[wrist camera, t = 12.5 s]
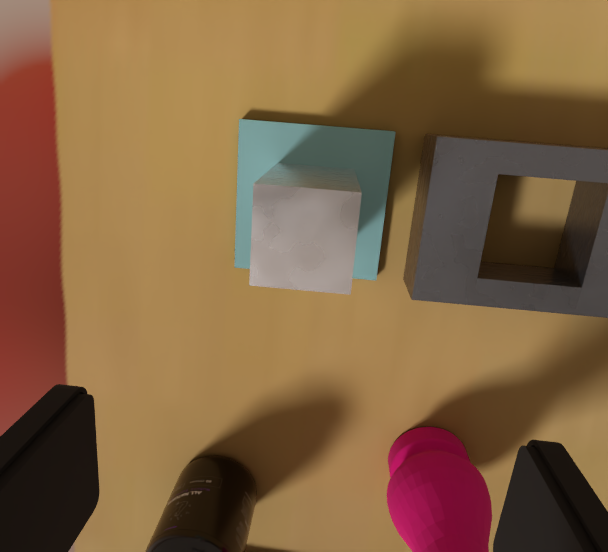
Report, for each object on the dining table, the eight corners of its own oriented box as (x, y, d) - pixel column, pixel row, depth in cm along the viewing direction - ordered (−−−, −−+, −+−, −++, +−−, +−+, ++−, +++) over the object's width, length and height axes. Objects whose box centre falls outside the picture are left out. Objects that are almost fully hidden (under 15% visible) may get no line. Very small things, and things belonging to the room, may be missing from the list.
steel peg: (354, 169, 32) (361, 192, 22) (346, 242, 33) (350, 294, 24) (278, 162, 32) (253, 183, 22) (273, 236, 33) (249, 285, 24)
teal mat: (394, 131, 32) (395, 131, 31) (375, 276, 35) (376, 280, 34) (241, 119, 32) (239, 119, 31) (236, 263, 35) (234, 267, 34)
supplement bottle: (198, 439, 40) (143, 567, 29) (271, 474, 41) (246, 613, 30) (166, 496, 42) (104, 636, 31) (236, 529, 43) (200, 678, 32)
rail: (742, 159, 31) (799, 165, 27) (690, 305, 34) (734, 329, 30) (425, 133, 32) (437, 136, 28) (403, 279, 35) (411, 299, 31)
